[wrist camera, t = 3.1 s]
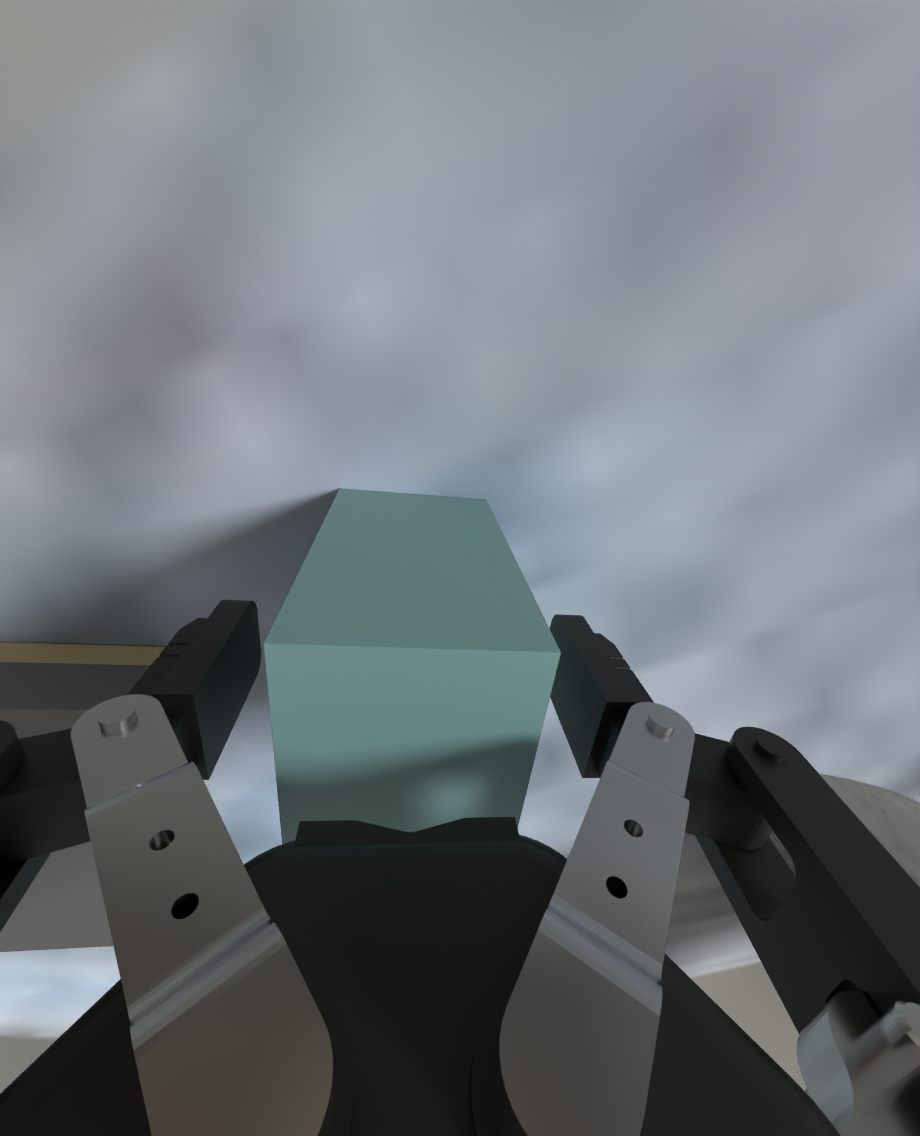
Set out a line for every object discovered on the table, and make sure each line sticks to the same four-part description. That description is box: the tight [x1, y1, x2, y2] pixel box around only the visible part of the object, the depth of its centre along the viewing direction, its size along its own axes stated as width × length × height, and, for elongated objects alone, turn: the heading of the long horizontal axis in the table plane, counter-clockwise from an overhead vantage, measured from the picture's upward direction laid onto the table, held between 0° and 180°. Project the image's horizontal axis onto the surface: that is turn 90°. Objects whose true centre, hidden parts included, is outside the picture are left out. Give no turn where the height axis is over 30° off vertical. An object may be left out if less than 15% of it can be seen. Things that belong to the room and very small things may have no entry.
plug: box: [264, 488, 561, 844], centre depth 12 cm, size 6×4×8 cm
